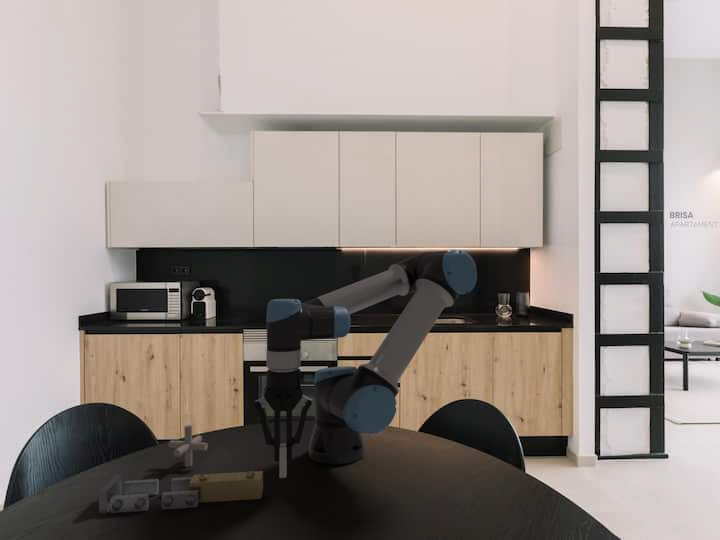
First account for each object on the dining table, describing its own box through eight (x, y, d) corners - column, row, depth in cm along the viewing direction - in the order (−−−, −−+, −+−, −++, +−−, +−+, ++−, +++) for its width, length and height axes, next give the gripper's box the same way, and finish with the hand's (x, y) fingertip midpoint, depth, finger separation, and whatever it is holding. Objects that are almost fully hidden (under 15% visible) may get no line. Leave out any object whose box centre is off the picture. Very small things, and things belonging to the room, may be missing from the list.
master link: (263, 491, 103) (262, 468, 103) (261, 499, 99) (260, 476, 99) (194, 495, 101) (194, 472, 101) (189, 504, 97) (189, 480, 97)
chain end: (205, 488, 104) (205, 474, 104) (196, 508, 95) (196, 494, 95) (173, 490, 103) (173, 476, 103) (161, 511, 94) (160, 496, 94)
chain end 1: (159, 491, 103) (159, 471, 103) (145, 512, 93) (145, 490, 94) (116, 494, 101) (116, 473, 101) (97, 515, 92) (97, 493, 92)
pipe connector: (195, 475, 110) (195, 434, 110) (158, 472, 112) (158, 431, 112) (216, 458, 120) (216, 420, 120) (182, 456, 122) (182, 418, 122)
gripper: (312, 364, 106) (312, 466, 106) (255, 365, 104) (255, 469, 104) (313, 371, 99) (312, 481, 98) (251, 372, 97) (251, 484, 97)
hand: (283, 475), depth 101 cm, fingers closed
